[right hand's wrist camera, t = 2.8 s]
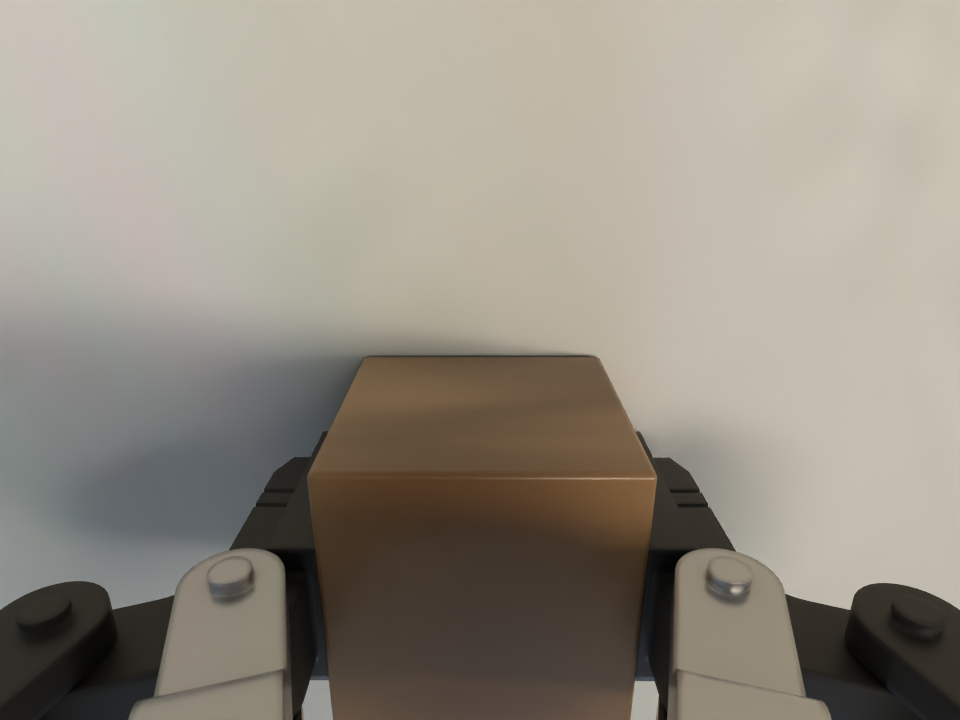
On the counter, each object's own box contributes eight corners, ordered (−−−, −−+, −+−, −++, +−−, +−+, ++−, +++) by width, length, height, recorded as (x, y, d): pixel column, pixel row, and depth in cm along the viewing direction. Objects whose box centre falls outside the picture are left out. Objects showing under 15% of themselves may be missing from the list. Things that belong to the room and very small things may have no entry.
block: (600, 355, 12) (660, 474, 8) (585, 560, 13) (630, 744, 9) (363, 355, 12) (303, 474, 8) (377, 560, 13) (333, 744, 9)
